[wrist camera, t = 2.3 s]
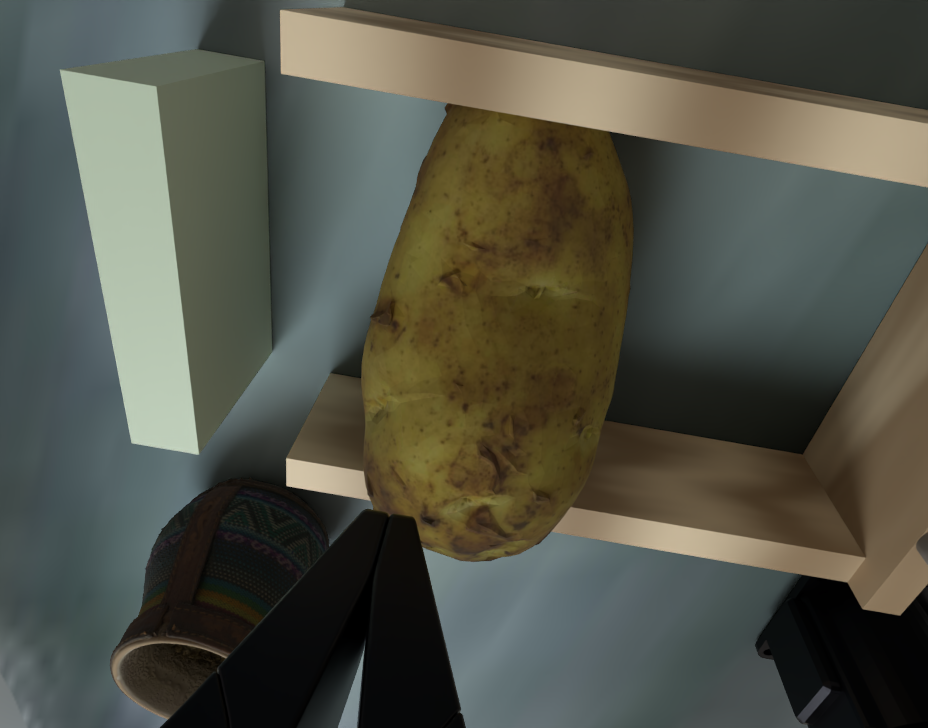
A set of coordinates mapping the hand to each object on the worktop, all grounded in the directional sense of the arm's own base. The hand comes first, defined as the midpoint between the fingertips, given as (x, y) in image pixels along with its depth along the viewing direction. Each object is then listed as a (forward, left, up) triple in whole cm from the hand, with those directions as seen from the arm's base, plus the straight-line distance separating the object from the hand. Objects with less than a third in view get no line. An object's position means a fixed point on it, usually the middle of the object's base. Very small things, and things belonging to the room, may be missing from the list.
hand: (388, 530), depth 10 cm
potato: (-2, +1, -12) cm, 12 cm away
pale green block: (+7, 0, -12) cm, 14 cm away
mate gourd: (+7, +14, -12) cm, 20 cm away
